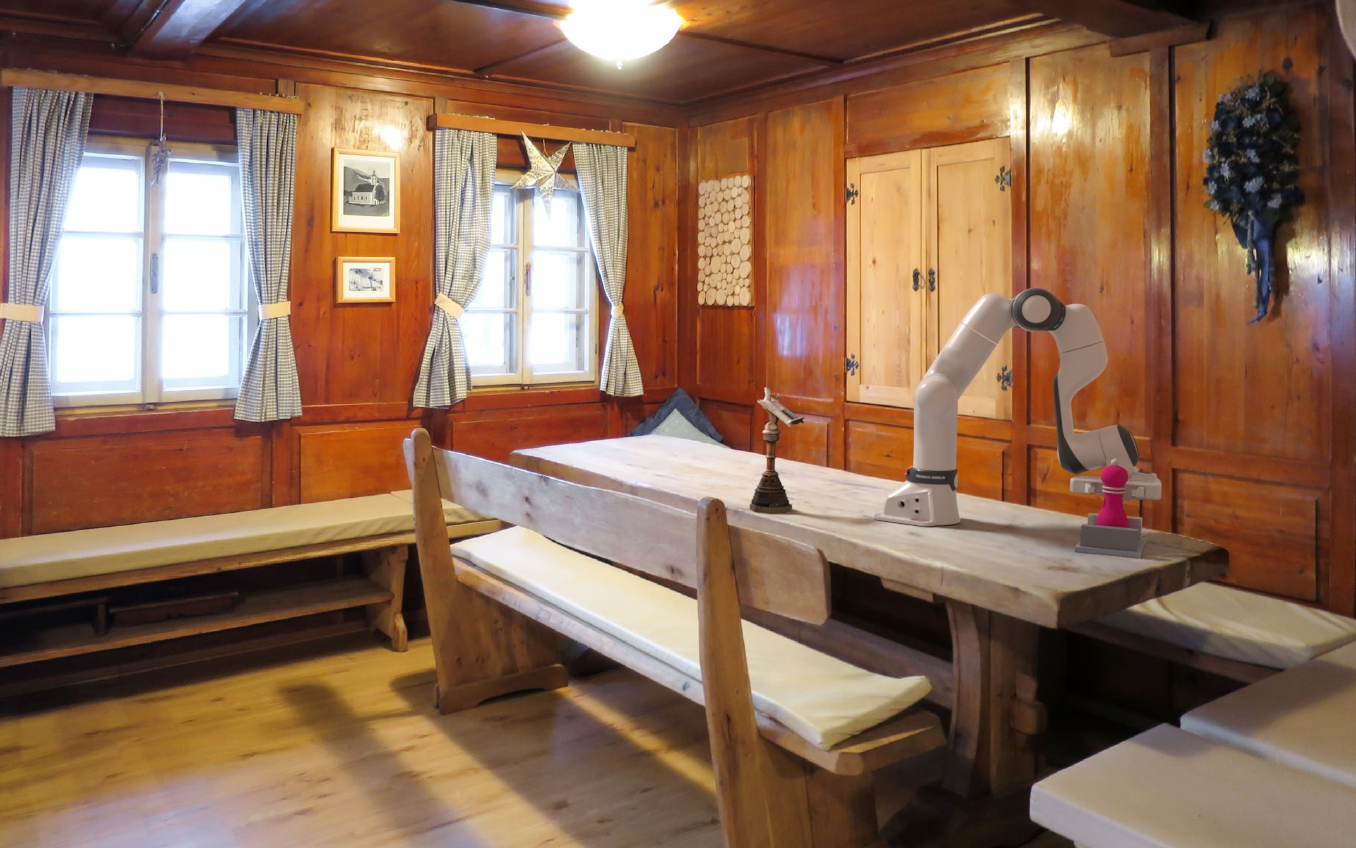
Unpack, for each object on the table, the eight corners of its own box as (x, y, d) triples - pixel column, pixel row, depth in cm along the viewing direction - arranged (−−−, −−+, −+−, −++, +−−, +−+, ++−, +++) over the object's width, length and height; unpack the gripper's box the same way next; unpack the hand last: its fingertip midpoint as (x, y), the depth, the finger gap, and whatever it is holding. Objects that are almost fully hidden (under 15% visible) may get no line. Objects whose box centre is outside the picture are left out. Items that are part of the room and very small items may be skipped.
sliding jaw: (1087, 534, 249) (1087, 514, 249) (1088, 532, 251) (1088, 513, 251) (1140, 539, 244) (1141, 519, 243) (1141, 537, 246) (1142, 517, 245)
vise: (1074, 551, 236) (1076, 526, 236) (1084, 535, 253) (1085, 512, 253) (1141, 558, 230) (1142, 532, 229) (1145, 541, 247) (1147, 517, 246)
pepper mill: (1096, 545, 237) (1100, 460, 235) (1093, 538, 244) (1096, 456, 242) (1130, 547, 235) (1134, 461, 233) (1125, 540, 242) (1129, 457, 240)
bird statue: (815, 508, 289) (817, 385, 285) (798, 516, 277) (800, 388, 274) (762, 503, 297) (763, 383, 293) (743, 511, 285) (744, 386, 282)
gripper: (1073, 467, 254) (1066, 475, 242) (1163, 473, 245) (1161, 482, 233) (1072, 492, 255) (1065, 501, 243) (1162, 499, 246) (1159, 509, 233)
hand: (1112, 492), depth 238 cm, fingers open, 8 cm apart
